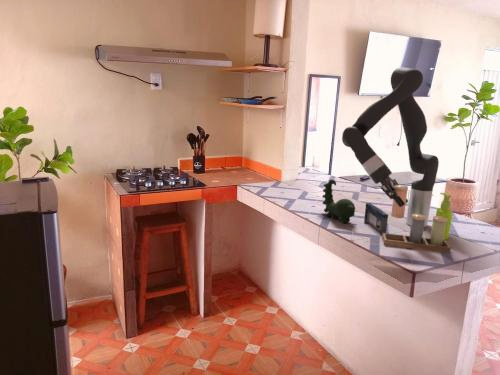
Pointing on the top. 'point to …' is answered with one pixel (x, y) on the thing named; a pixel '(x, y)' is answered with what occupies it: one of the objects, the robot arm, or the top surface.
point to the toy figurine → (337, 204)
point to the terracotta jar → (396, 210)
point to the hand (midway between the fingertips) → (404, 204)
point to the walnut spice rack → (404, 242)
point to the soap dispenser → (445, 213)
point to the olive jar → (438, 230)
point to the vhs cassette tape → (376, 218)
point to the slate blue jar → (417, 228)
